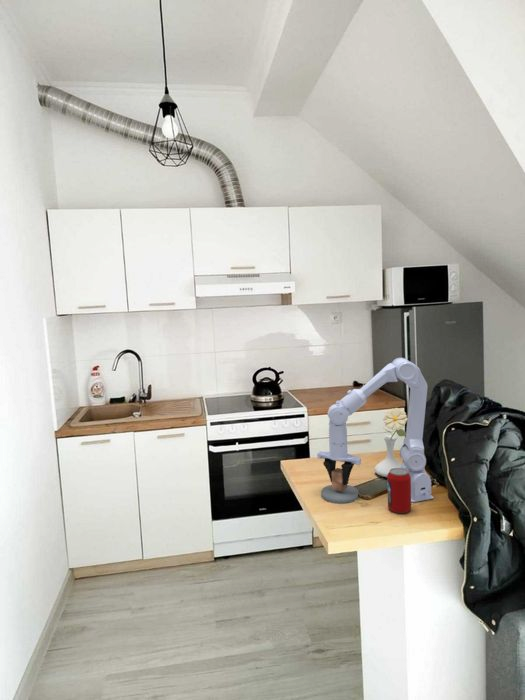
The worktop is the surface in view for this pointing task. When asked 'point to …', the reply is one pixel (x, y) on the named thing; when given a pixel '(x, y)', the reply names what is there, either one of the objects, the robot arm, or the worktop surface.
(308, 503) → the worktop surface
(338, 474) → the terracotta block
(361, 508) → the worktop surface
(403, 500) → the beverage can
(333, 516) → the worktop surface
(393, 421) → the flower in vase
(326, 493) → the slate base plate
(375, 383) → the robot arm
